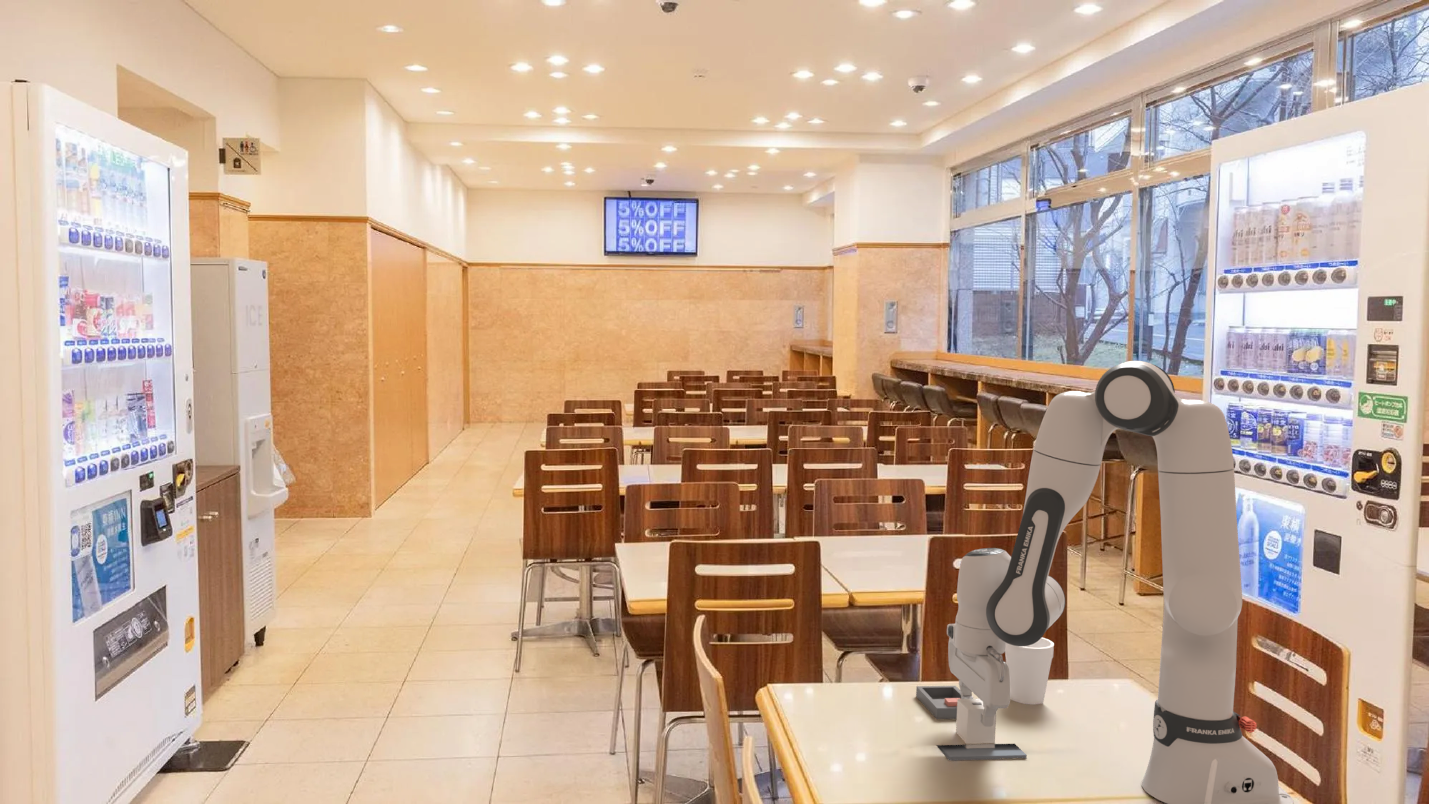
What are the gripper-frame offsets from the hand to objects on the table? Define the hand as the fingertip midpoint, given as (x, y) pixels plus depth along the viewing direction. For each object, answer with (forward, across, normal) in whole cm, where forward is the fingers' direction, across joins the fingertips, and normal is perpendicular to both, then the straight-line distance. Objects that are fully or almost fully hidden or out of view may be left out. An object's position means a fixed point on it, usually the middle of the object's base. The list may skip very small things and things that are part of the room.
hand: (976, 714), depth 185 cm
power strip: (+6, +15, 0) cm, 16 cm away
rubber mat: (+6, 0, 0) cm, 6 cm away
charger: (+5, 0, 0) cm, 5 cm away
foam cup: (+6, +19, -18) cm, 27 cm away
